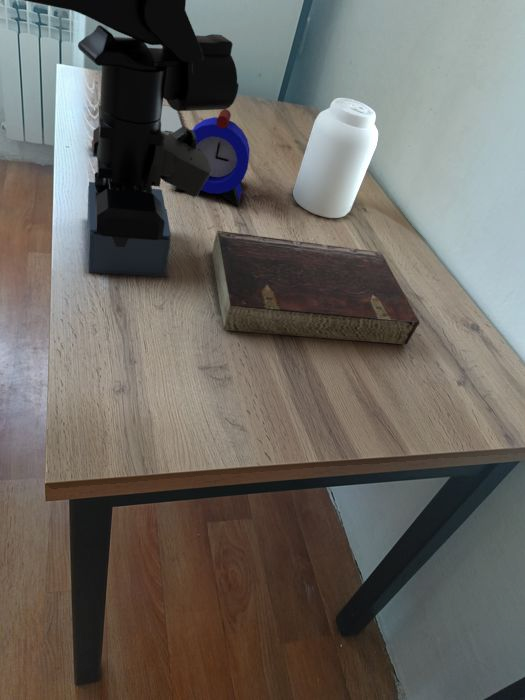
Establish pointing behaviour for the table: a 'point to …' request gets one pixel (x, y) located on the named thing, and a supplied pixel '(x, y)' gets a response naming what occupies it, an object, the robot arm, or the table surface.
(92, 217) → the box lid
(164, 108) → the smartphone
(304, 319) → the hardback book
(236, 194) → the alarm clock
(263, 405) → the table surface
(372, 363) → the table surface
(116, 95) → the robot arm
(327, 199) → the white plastic bottle
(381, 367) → the table surface
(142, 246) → the carton
